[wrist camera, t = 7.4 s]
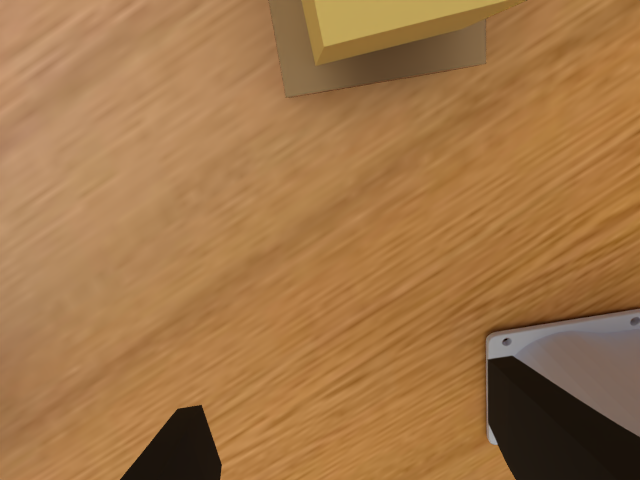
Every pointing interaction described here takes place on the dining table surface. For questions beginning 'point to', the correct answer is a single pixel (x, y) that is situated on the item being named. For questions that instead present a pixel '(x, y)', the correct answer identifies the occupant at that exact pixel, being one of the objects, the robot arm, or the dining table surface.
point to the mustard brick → (387, 23)
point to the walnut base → (367, 55)
